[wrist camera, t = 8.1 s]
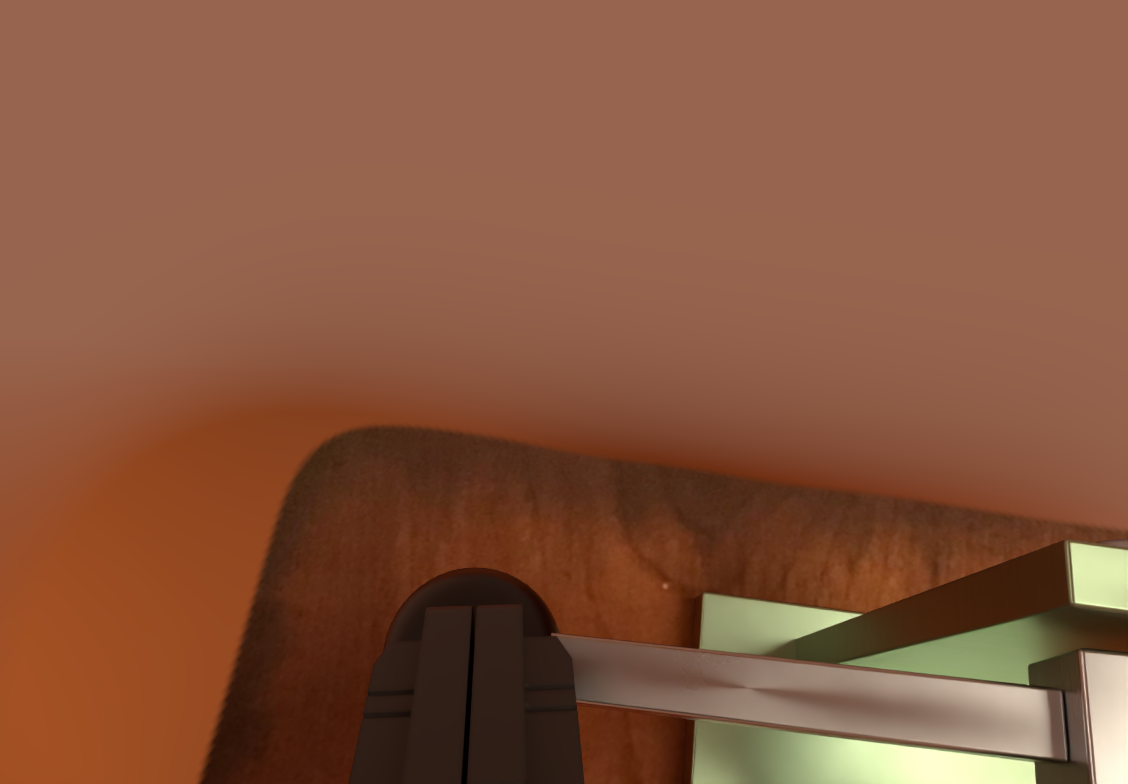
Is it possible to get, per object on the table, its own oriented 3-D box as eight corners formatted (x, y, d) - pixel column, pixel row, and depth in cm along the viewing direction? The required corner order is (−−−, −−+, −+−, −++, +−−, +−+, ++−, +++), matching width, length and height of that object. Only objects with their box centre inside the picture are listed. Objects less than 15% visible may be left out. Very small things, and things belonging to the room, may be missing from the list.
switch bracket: (678, 850, 25) (882, 988, 11) (695, 596, 27) (877, 448, 13) (1034, 897, 25) (1692, 1096, 11) (1017, 639, 27) (1530, 535, 13)
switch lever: (399, 745, 17) (336, 740, 14) (429, 577, 18) (376, 541, 15) (1215, 857, 14) (1343, 879, 11) (1187, 654, 16) (1298, 628, 13)
